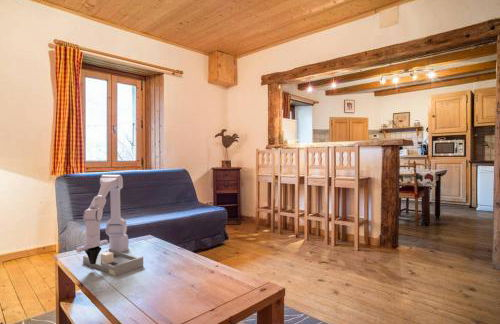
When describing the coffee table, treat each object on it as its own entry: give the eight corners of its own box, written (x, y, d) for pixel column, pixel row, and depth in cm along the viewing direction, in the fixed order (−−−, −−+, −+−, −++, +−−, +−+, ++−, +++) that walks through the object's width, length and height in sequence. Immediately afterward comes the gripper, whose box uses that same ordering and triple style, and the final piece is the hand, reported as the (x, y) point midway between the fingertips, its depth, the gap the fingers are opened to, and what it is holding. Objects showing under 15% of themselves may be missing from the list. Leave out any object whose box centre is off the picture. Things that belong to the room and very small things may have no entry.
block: (108, 259, 141) (108, 251, 141) (113, 261, 139) (113, 253, 139) (100, 262, 138) (100, 253, 138) (105, 263, 136) (105, 255, 136)
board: (110, 255, 154) (110, 246, 154) (143, 266, 138) (143, 256, 138) (83, 263, 142) (83, 253, 142) (115, 276, 127) (115, 265, 127)
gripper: (101, 229, 141) (101, 257, 142) (71, 237, 128) (71, 267, 128) (111, 231, 138) (111, 259, 138) (82, 239, 125) (82, 270, 125)
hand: (92, 263), depth 133 cm, fingers closed
